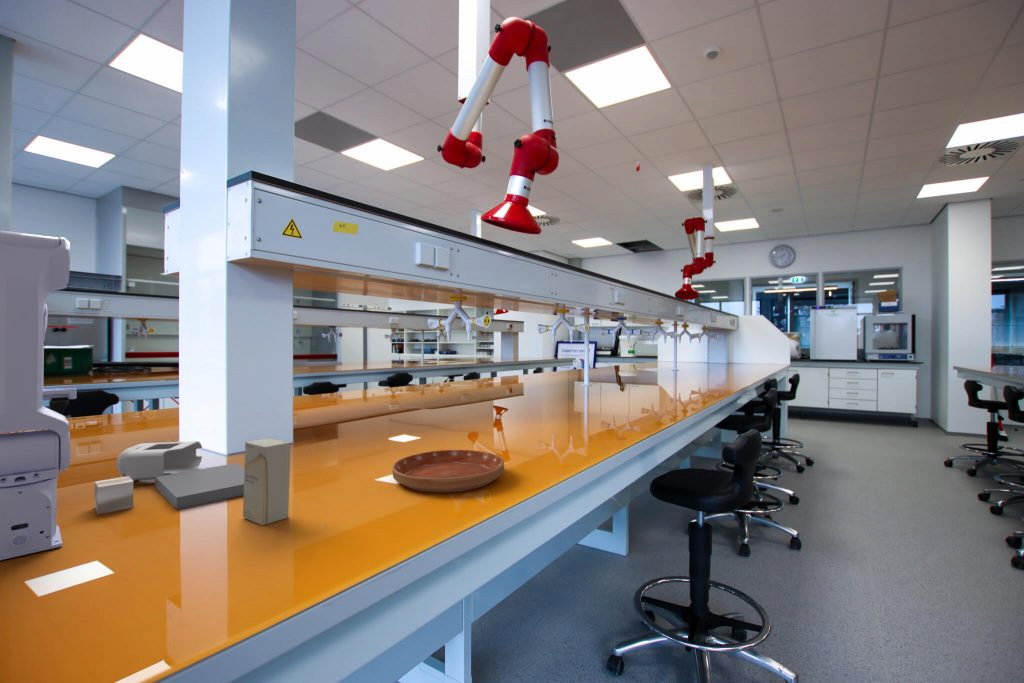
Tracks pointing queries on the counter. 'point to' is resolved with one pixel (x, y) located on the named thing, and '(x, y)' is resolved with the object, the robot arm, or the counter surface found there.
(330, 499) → the counter surface
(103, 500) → the ash cube
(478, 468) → the saucer
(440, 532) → the counter surface
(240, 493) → the base plate
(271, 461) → the skincare box
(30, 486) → the robot arm
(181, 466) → the cable organizer
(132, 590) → the counter surface
